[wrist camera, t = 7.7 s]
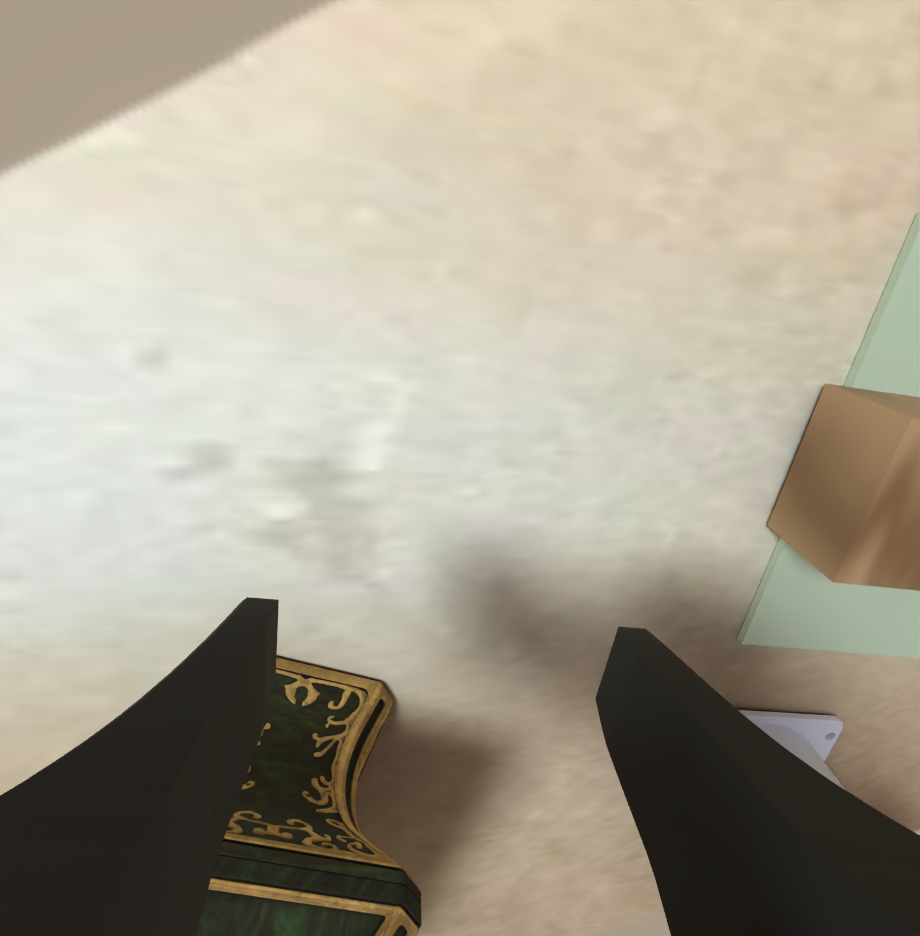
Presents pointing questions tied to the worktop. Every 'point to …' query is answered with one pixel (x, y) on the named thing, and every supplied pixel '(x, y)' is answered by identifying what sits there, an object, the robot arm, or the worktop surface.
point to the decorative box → (309, 822)
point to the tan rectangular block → (857, 489)
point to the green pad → (794, 578)
